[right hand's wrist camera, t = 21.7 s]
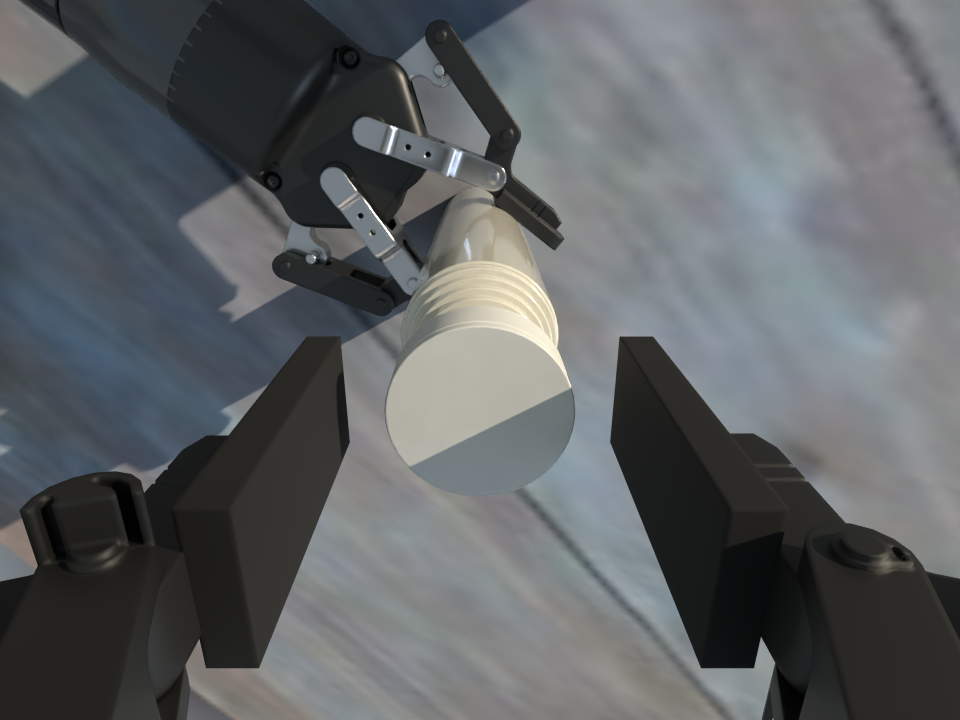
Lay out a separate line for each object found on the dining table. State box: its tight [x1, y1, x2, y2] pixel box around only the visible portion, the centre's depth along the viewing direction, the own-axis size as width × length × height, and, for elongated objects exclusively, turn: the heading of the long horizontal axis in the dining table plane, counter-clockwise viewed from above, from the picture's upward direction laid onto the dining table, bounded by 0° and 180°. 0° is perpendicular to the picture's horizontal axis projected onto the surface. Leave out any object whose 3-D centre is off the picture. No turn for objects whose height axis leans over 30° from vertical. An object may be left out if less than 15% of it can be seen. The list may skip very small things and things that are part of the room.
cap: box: [385, 306, 575, 496], centre depth 14 cm, size 4×4×2 cm
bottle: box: [401, 187, 558, 348], centre depth 25 cm, size 4×4×24 cm
